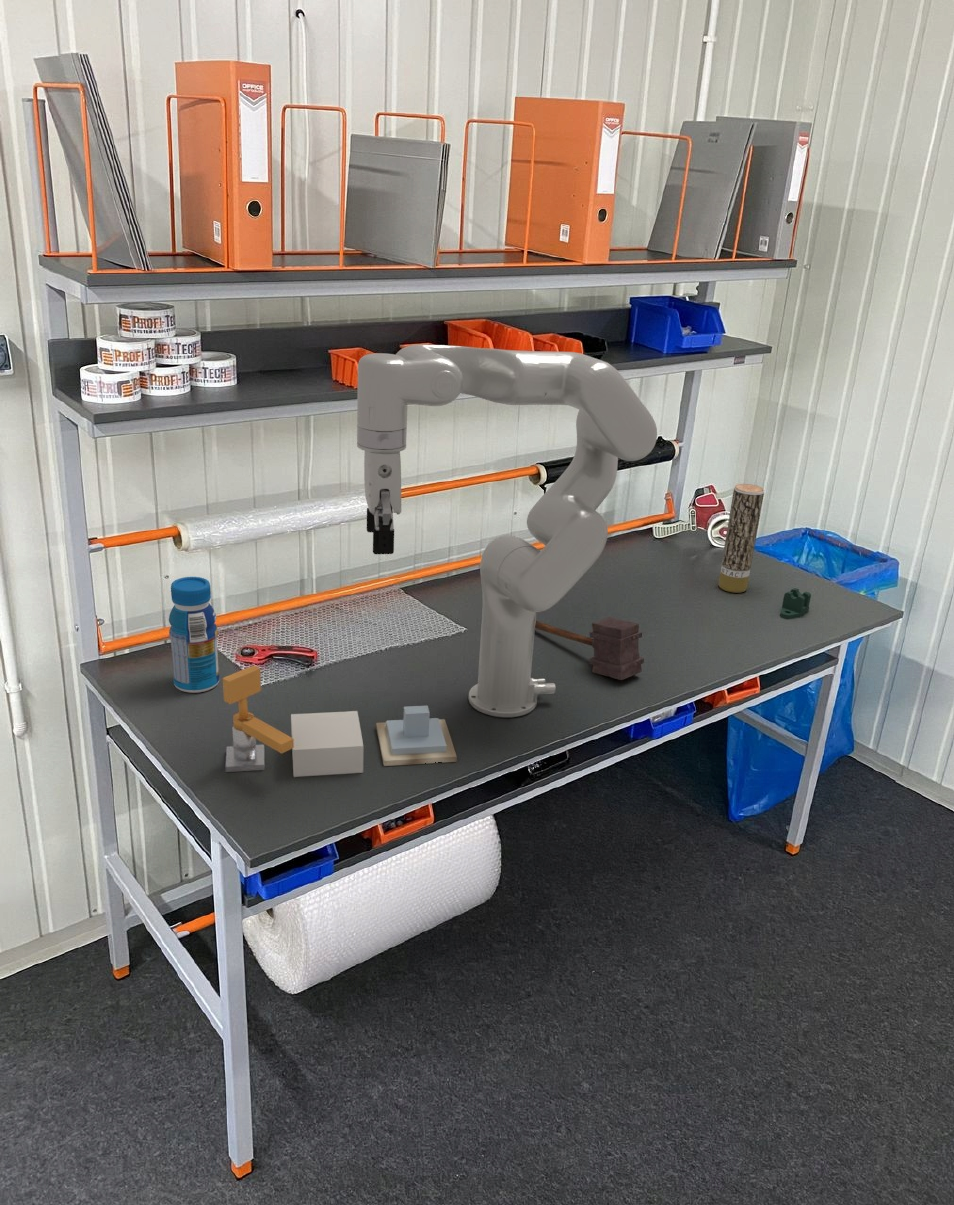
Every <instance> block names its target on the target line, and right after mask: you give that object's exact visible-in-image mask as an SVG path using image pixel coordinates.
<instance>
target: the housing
mask: <svg viewBox="0 0 954 1205" xmlns="http://www.w3.org/2000/svg"><path fill="white" fill-rule="evenodd" d="M290 723H291V725H290V726H291V727H290V730H291V731H290V732H291V736H290V737H291V738H293V739H294V748H292V749H291V751H292V752H291V754H292V769H293V771H292V772H293V774H292V775H293V778H298V777H312V776H313V777H314V776H330V775H345V774H346V775H347V774H360V773H361V774H363V773H364V743H363V742H364V741H363V737H362V735H363V734H362V730H361V724H360V718H359V712H358V710H351V711H349V710H348V711H335V712H334V711H332V712H330V711H328V712H314V713H313V712H312V713H291V714H290Z"/></svg>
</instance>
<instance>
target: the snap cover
mask: <svg viewBox="0 0 954 1205" xmlns="http://www.w3.org/2000/svg"><path fill="white" fill-rule="evenodd" d="M430 713H431V712H430V709H429V706H428V705H413V706H412V705H411V706H409V705H408V706H403V718H402V719H394V720H393V719H391V720H386V721H385V722H386V728H387V733H388V738H389V743H390V747H391V752H392V755H402V754H420V753H438V752H446V748H447V745H446V742H445V739H444V736H443V732H442V729H441V726H440V722H439V720H440V718H438V717H434V718H433V717H432V718H430Z"/></svg>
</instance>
